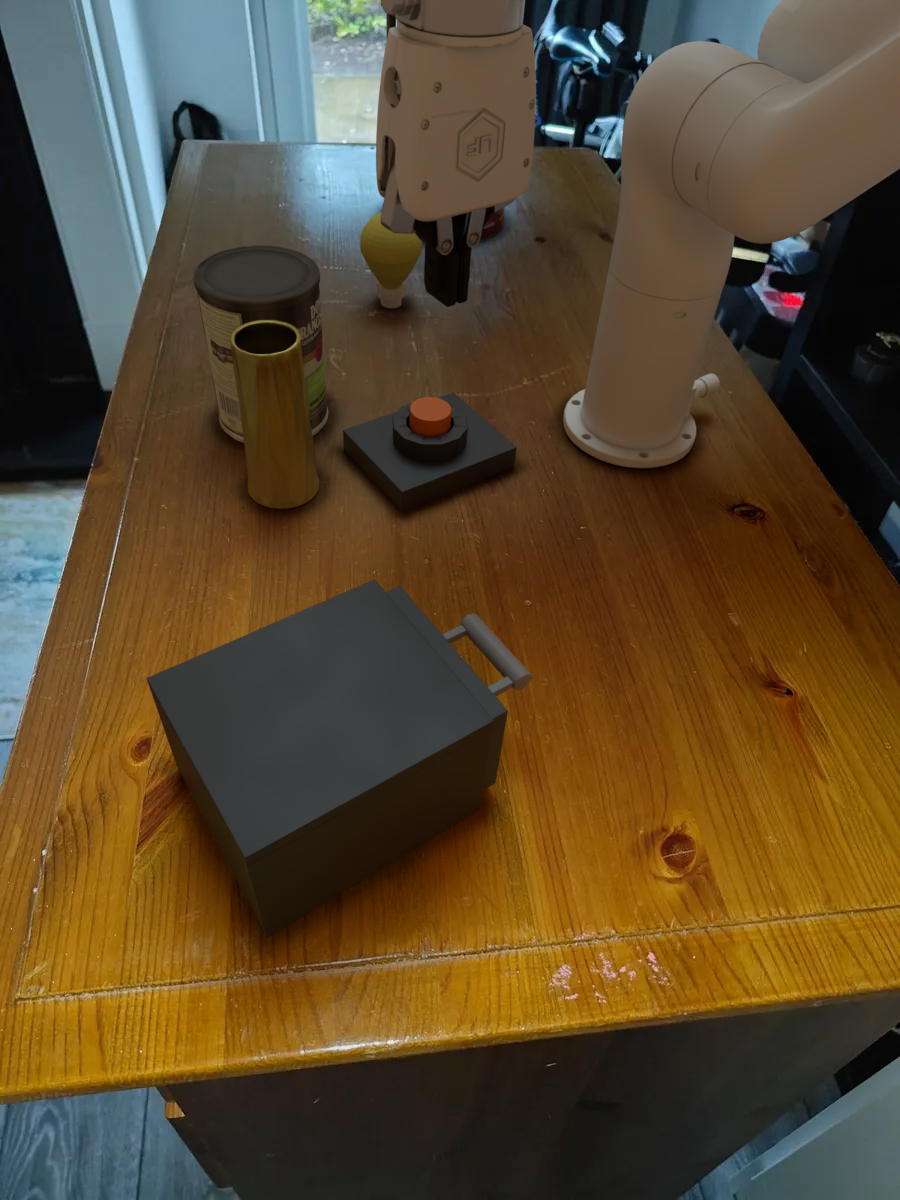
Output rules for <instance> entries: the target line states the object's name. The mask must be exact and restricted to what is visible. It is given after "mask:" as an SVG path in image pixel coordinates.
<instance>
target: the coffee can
mask: <svg viewBox="0 0 900 1200" xmlns="http://www.w3.org/2000/svg"><path fill="white" fill-rule="evenodd" d="M192 280H193V285H194V288H195V290H196V293H197V298H198V299H197V300H198V304H199V310H200V311H199V312H200V315H201V320H202V321H201V322H202V327H203V333H204V337H205V344H206V349H207V355H208V359H209V360H208V361H209V366H210V373H211V377H212V384H213V390H214V394H215V399H216V405H217V411H218V412H217V413H218V422H219V425H220V427H221V429H222V430H223V432H224V433H226V435H228V436H229V437H231V438H232V439H233V440H235V441H237V442H240V443H243V444H244V439H243V430H242V422H241V414H240V405H239V398H238V393H237V387H236V380H235V373H234V366H233V359H232V352H231V335H232V333H233V332H234V330H235V329H237V328H238V327H240V326H241V325H243V324H246V323H248V322H252V321H257V320H276V321H281V322H285V323H288V324H291V325H292V326H294V327H295V328H296V329H297V330H298V331H299V332H300V334H301V347H302V359H303V369H304V377H305V385H306V391H307V398H308V406H309V413H310V423H311V429H312V435H313V437H314V436H315V435H316V434H319V432H320V431H321V430H322V429H323V428H324V426H325V425H326V424H327V422H328V418H329V408H328V401H327V399H328V398H327V386H326V371H325V369H326V368H325V356H324V355H325V354H324V340H323V324H322V323H323V321H322V320H323V319H322V306H321V291H320V288H321V287H320V283H321V271H320V268H319V266H318V264H317V263H316V261H315V260H313V258H311V257H309V256H308V255H306V254H304V253H302V252H301V251H297V250H295V249H291V248H288V247H282V246H274V245H262V244H261V245H258V244H257V245H244V246H242V245H241V246H237V247H232V248H231V247H230V248H227V249H224V250H221V251H218V252H215V253H213V254H210V255H209V256H207V257H205V258H204V259H202V260H201V261H200V262H199V263H198V264H196V266H195V268H194V270H193V271H192Z"/></svg>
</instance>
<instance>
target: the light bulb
mask: <svg viewBox="0 0 900 1200" xmlns="http://www.w3.org/2000/svg"><path fill="white" fill-rule="evenodd" d="M381 213H382V211H381V212H378V213H377V214H375V215H373V216H372V217H370V219H368V221H367V222H366V224H365V225H364V226H363V229H362V231H361V233H360V237H359V238H360V239H359V248H360V253H361V255H362V257H363V259H364V260H365V263H366V265H367V267H368V268H369V270H370V271H371V273H372V275H373V276H374V277H375V278H376V280H377V284H376V295H377V297H378V298H379V299H380V305H381V306H382V307H384V308H387V309H396V308H399V307H401V306H402V301H403V300H402V299H403V298H404V297H405V296H406V284H405V283H404V282H405V281H406V279H407V278H408V277H409V276H410V274H411V273H412V271H413V270H414V268H415V266H416V265H417V263H418V260H419V258H420V256H421V254H422V253H423V252H422V251H423V241H421V240H420V239H419V238H418V236H417V235H416V234H415V233H412V234H401V233H393V232H391V231H390V230H388V229H387V228H385V227H384V226H383V225H382V224H381V222H380V218H381Z"/></svg>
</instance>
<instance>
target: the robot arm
mask: <svg viewBox="0 0 900 1200" xmlns="http://www.w3.org/2000/svg"><path fill="white" fill-rule="evenodd" d="M381 5H382V6H381ZM525 5H526V0H380V6H381V8H382V10H383V12H384V13H385V14H386V13H387V14H393V13H395V17H396V27H392V28H390V29H389V32H388V37H386V42H385V46H384V47H385V48H384V54H383V59H382V66H381V73H380V82H379V90H378V100H377V101H378V103H377V115H376V116H377V118H376V133H375V134H376V135H375V139H376V140H375V171H376V173H375V175H376V185H377V190H378V194H379V195H380V197H382V198H383V201H382V208H381V212H382V213H381V212H380V213H381V218H380V222H381V224H382V225H383V226H384V227H385V228H387V229H388V230H390V231H391V232H393V233H401V234H412V233H415V234H416V235H417V236H418V238H419V239H420V240H421V241H422V243H424V260H423V262H424V265H423V283H424V288H425V291H426V292H427V294H429V295H430V296H431V297H433V298H434V299H435V300H437V301H438V302H440V303H441V304H442V305H444V306H445V307H447V308H450V307H453V306H455V305H456V304H457V303H458V304H462V303H467V301H468V296H469V283H470V276H471V263H472V262H471V261H472V250H473V248H476V247H478V245H479V244H480V241H481V240H480V238H481V233H482V228H483V227H484V226H485V224H486V223H487V221H488V220H489V219H490V217H491V216H492V214H493V212H497V211H499V210H500V209H502V208H504V207H505V208H506V207H508V206H510V205H511V204H513V203H514V201H515V200H516V199H518V198H519V197H520V196H522V195H523V194H525V192H526V190H527V189H528V187H529V185H530V180H531V175H532V169H533V168H532V167H533V158H534V146H535V133H536V132H535V131H536V113H537V112H536V109H537V108H536V107H537V71H536V56H535V46H534V45H535V44H534V37H533V35H534V34H533V31H532V28H531V27H529V26H527V25H525V24H524V17H525V16H524V15H525V7H526V6H525ZM759 35H760V36H759V40H758V43H757V58H756V57H754V56H751V55H750V54H747V53H745V52H743V51H740V50H738V49H736V48H734V47H731V46H728V45H725V44H723V43H718V42H714V41H705V40H695V41H687V42H683V43H680V44H678V45H675V46H673V47H670V48H669V49H667V50H665V51H664V52H662V53H661V54H660V55H659V56H657V57H656V58H655V59H654V60H653V61H652V62H651V63H650V64H649V65H648V66H647V67H646V69H645V70H644V71H643V72H642V74H641V75H640V77H639V78H638V80H637V81H636V84H635V86H634V87H633V89H632V92H631V95H630V97H629V99H628V103H627V106H626V110H625V116H624V118H623V119H624V120H623V125H622V135H621V153H620V158H621V159H620V165H621V166H620V167H621V169H620V194H619V205H618V213H617V221H616V228H615V233H614V239H613V243H612V244H613V245H612V249H611V250H612V251H611V254H610V255H611V256H610V260H609V263H608V269H607V275H606V280H605V281H606V282H605V286H604V291H603V295H602V301H601V306H600V311H599V317H598V322H597V326H596V332H595V337H594V342H593V347H592V352H591V357H590V362H589V368H588V373H587V378H586V383H585V388H584V389H582V390H580V391H578V392H576V393H575V394H574V395H571V398H569V399H568V401H567V402H566V404H565V406H564V411H563V417H562V424H563V428H564V431H565V433H566V435H567V437H568V438H569V439H570V441H571V442H572V443H573V444H574V445H575V446H576V447H577V448H579V449H580V450H581V451H583V452H584V453H586V454H588V455H589V456H590V457H593V458H595V459H597V460H599V461H602V462H604V463H608V464H611V465H615V466H618V467H624V468H631V469H632V468H633V469H653V468H660V467H665V466H668V465H671V464H673V463H676V462H678V461H680V460H682V459H683V458H684V457H686V456H687V454H689V453H690V451H691V449H692V447H693V446H694V443H695V441H696V437H697V424H696V421H695V419H694V417H693V416H692V414H691V413H690V412H691V409H692V406H694V405H695V404H697V403H698V402H699V400H700V399H702V398H706V397H708V396H710V395H713V394H715V393H717V392H718V391H719V389H720V387H721V382H720V379H719V377H718V376H717V375H716V374H715V373H712V372H711V373H707V374H705V375H702V376H700V377H697V376H698V372H699V369H700V365H701V362H702V358H703V356H704V352H705V349H706V345H707V343H708V339H709V335H710V332H711V329H712V326H713V322H714V320H715V316H716V312H717V308H718V306H719V304H720V303H719V302H720V300H721V295H722V293H723V289H724V288H725V287H724V286H725V284H726V281H727V277H728V274H729V271H730V267H731V262H732V260H733V259H732V258H733V252H734V246H735V245H734V244H735V237H737V238H738V239H741V240H743V241H746V242H748V243H754V244H773V243H777V242H781V241H785V240H787V239H789V238H791V237H795V236H797V235H798V234H800V233H802V232H805V231H806V230H808V229H810V228H812V227H813V226H814V225H816V224H818V223H819V222H821V221H822V220H824V219H826V218H827V217H829V216H830V215H832V214H833V213H835V212H837V210H839V209H841V208H842V207H844V206H845V205H847V204H848V203H850V202H851V201H853V200H855V199H856V198H858V197H859V196H860V195H862V194H864V193H865V192H867V191H868V190H869V189H871V188H872V187H874V186H875V185H877V184H879V183H880V182H882V181H883V180H884V179H886V178H887V177H889V176H891V175H892V174H894V173H896V172H897V171H898V170H900V0H780V1H779V2H778V3H777V4H776V6H775V7H774V8H773V9H772V11H771V12H770V14H769V15H768V17H767V18H766V20H765V23H764V25H763V27H762V30H761V33H760V34H759Z"/></svg>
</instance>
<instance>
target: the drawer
mask: <svg viewBox="0 0 900 1200" xmlns="http://www.w3.org/2000/svg"><path fill="white" fill-rule="evenodd" d="M385 592H386V593H387V594H388V596H389V597H390V598H391V599H392V600H393V602H394V603H395V604H396V605H397V606H398V607H399V609H400V610H401V611H402V612H403V613H404V615H405V616H406V617H407V618H408V619H409V621H410V622H411V623H412V624H413V625H414V626H415V628H416V629H417V630H418V631H419V632H420V634H421V635H422V636H423V637H424V638H425V639H426V641H427V642H428V643H429V644H430V645H431V647H432V648H433V649H434V650H435V651H436V652H437V654H438V655H439V656H440V657H441V658H442V660H443V661H444V662H445V663H446V664H447V666H448V667H449V668H450V669H451V670H452V671H453V673H454V674H455V675H456V676H457V677H458V679H459V680H460V681H461V682H462V683H463V684H464V686H465V687H466V688H467V689H468V690H469V692H470V693H471V694H472V695H473V696H474V698H475V699H476V700H477V701H478V702H479V703H480V705H481V706H482V707H483V708H484V709H485V711H486V712H487V713H488V714H489V715H490V716H491V718H492V719H493V720H494V725H493V732H492V738H491V745H490V751H489V758H488V764H487V771H486V777H485V783H484V790H483V791H485V790H486V789H488V788H489V787H492V786H493V785H495V784H496V783H497V777H498V771H499V767H500V766H499V765H500V760H501V753H502V750H503V749H502V748H503V742H504V737H505V736H504V735H505V730H506V726H507V725H506V724H507V719H508V713H509V710H508V709H507V707H505V705H504V704H503V703H502V702H501V700H500V699H499V698H498V696H500V695H502V694H504V693H506V692H508V691H509V690H511V689H512V688H513V689H514V691H521V690H523V689H525V688H526V687H528V685H529V684H530V683H531V681H532V679H533V674H532V673H531V672H530V671H529V670H528V669H527V668H526V667H525V666H524V665H523V663H522V662H521V661H520V660H519V659H518V658H517V657H516V656H515V655H514V653H513V652H512V651H510V649H509V648H508V647H507V646H506V645H505V644H504V643H503V641H501V640H500V638H499V637H498V636H497V635H496V633H494V632H493V631H492V630H491V628H490V627H488V625H487V624H486V623H485V622H484V621H483V620H482V618H480V617H479V616H478V614H477V613H475V612H473V613H469V614H467V615H466V616H464V617H463V618H462V620H461V621H460V623H459V625H458V626H456V627H454V628H451V629H449V630H448V631H445V632H443V633H441V631H440V630H439V629H438V628H437V626H436V625H435V624H434V623H433V622H432V621H431V620H430V619H429V618H428V616H427V615H426V613H424V612H423V610H422V609H421V608H420V607H419V606H418V604H417V603H416V602H415V601H414V600H413V599H412V598H411V597H410V595H409V594H408V593H407V591H405V590H404V588H403V587H402V586H401V585H399V586H396V587H395V588H392V589H390V590H388V591H385ZM464 637H467V638H468V639H469V640H470V641H471V643H473V645H474V646H475V647H476V648H477V649H478V650H479V651H480V652H481V653H482V654H483V656H484V657H485V658H486V659H487V660H488V661H489V662H490V664H492V665H491V666H493V667H494V668H495V669H496V670H497V672H498V673H499V674H500V675H501V676H502V677H503V678H501V679H500V680H498V681H496V682H493V683H491V684H490V685H488V686H487V685H486V683H485V682H484V681H483V680H482V679H481V677H480V676H479V675H478V674H477V673H476V672H475V671H474V670H473V668H472V667H471V666H470V665H469V664H468V662H467V661H466V660H465V659H464V658H463V657H462V655H460V653H459V652H458V651H457V649H456V648H455V647H453V645H452V643H454V642H456V641H458V640H460V639H462V638H464Z"/></svg>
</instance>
